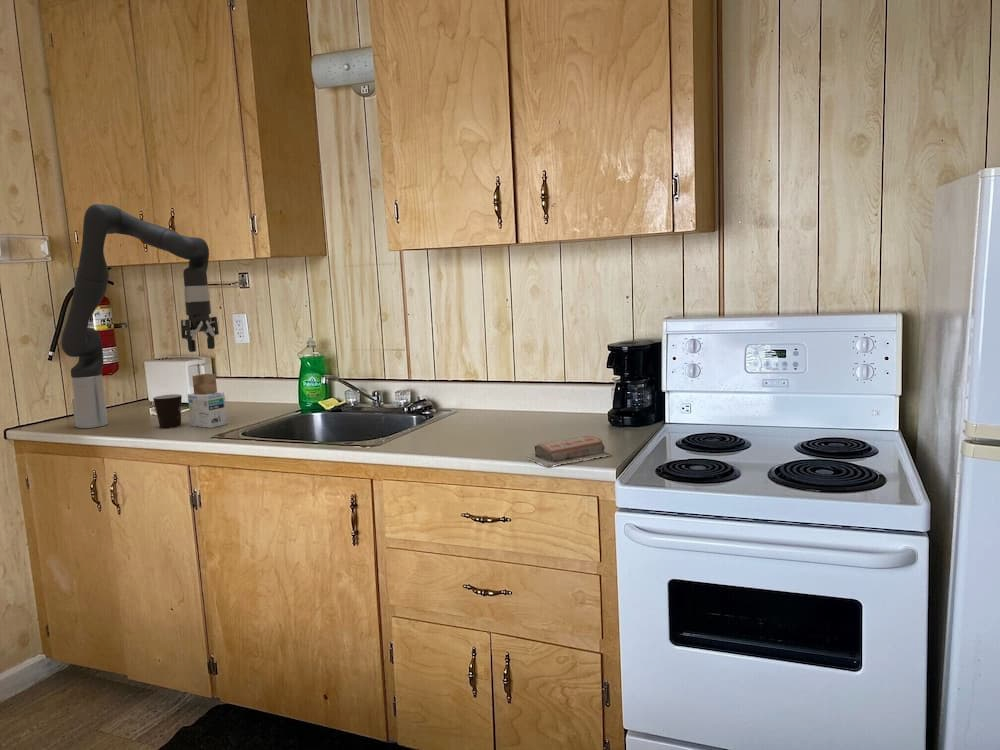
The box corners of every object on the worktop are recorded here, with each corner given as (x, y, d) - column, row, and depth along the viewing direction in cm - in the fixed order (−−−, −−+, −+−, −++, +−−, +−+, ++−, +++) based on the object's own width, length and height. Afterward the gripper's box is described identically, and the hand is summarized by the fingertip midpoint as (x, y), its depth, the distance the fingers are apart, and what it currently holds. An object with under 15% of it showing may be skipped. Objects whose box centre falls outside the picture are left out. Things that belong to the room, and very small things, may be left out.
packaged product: (586, 432, 194) (609, 439, 185) (587, 450, 195) (610, 458, 186) (525, 442, 186) (546, 450, 177) (525, 461, 187) (546, 470, 178)
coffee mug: (174, 429, 248) (171, 398, 246) (150, 429, 249) (147, 398, 248) (195, 421, 259) (192, 392, 257) (172, 422, 261) (169, 393, 259)
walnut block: (194, 394, 248) (192, 376, 248) (204, 391, 253) (202, 373, 252) (206, 394, 247) (204, 376, 246) (217, 392, 251) (215, 373, 251)
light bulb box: (228, 424, 251) (225, 392, 250) (210, 428, 246) (207, 395, 244) (207, 422, 257) (204, 390, 256) (189, 426, 251) (186, 394, 250)
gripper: (203, 299, 254) (208, 347, 256) (171, 301, 241) (176, 352, 243) (222, 298, 251) (226, 347, 253) (190, 301, 238) (195, 352, 240)
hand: (202, 350), depth 248 cm, fingers open, 8 cm apart
